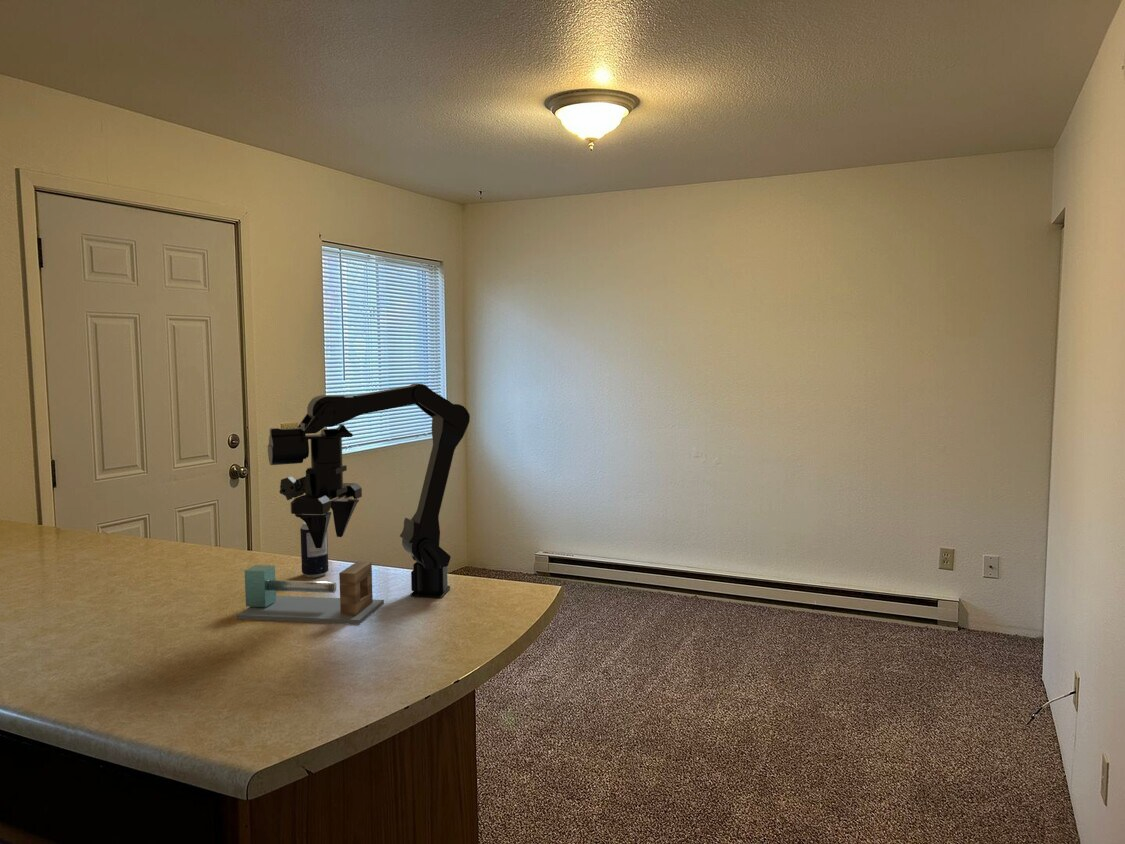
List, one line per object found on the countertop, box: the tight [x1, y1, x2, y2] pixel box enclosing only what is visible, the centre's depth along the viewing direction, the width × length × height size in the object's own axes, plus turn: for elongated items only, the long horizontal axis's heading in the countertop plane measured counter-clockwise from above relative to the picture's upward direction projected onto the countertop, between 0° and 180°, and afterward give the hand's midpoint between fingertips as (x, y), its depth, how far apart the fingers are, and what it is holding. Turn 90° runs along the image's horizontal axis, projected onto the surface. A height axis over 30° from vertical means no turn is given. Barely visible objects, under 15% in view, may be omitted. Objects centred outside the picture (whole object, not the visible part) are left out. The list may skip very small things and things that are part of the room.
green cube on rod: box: [244, 564, 337, 608], centre depth 150 cm, size 17×4×7 cm, turn 82°
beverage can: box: [299, 521, 329, 579], centre depth 174 cm, size 6×6×12 cm
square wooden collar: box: [338, 561, 374, 616], centre depth 148 cm, size 3×8×8 cm, turn 172°
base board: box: [236, 595, 385, 625], centre depth 150 cm, size 24×12×1 cm, turn 82°
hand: (329, 542), depth 150 cm, fingers open, 9 cm apart
